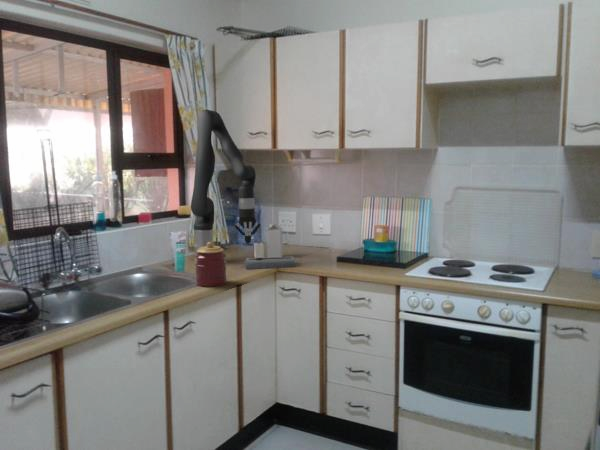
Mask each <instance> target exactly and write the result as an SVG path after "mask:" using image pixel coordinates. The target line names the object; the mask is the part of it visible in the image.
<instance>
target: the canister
mask: <svg viewBox="0 0 600 450" xmlns="http://www.w3.org/2000/svg"><path fill="white" fill-rule="evenodd" d="M224 251H225V249H224V248H222V247H221V246H219V245H214V242H213V243H212V242H208V243H207V246H203V247H200V248H199V249H198V250H197V252H198V253H197V255H195V254H194V259H195V258H196V263H195V262H194V266H195V269H194V270H195V271H194V272H195V278H194V279H195V280H194V281H195V284H196V285H197V286H200V287H208V288H209V287H219V286H224V285H225V284H226V283H227V279H228V278H227V262H226V257H227V255H226V253H224Z"/></svg>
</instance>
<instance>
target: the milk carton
mask: <svg viewBox="0 0 600 450" xmlns="http://www.w3.org/2000/svg"><path fill="white" fill-rule="evenodd" d="M268 227H269V228H268V229H267V235H266V236H267V237H266V239H267V241H266V242H267V243H266V244H267V247H266V248H267V257H284V255H283V252H284V251H283V250H284V249H283V247H284V246H283V243H284V242H283V240H284V239H283V228H282V227H281V226H280V225H279V224H278V223H277V220H275V221H274V222H273V223H270V224H269V225H268Z"/></svg>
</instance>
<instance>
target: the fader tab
mask: <svg viewBox="0 0 600 450" xmlns="http://www.w3.org/2000/svg"><path fill="white" fill-rule="evenodd" d="M253 245H254V246H253V247H254V248H253V250H254V251H253V253H254V254H253V255H254V258H256V260H262V258H265V253H264V252H265V249H264V246H265V245H264V243H263V242H256V243H255V242H254V244H253Z"/></svg>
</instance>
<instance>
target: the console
mask: <svg viewBox="0 0 600 450" xmlns="http://www.w3.org/2000/svg"><path fill="white" fill-rule="evenodd" d="M295 260H296V258H295V257H293V255H292V256H291V255H290V256H282V257H268V256H267V257H264V258H262V260H256V258H255V257H250V258H249V257H247V258H245V260H243V266H244V268H245V270H260V269H262V270H263V269H281V268H283V269H285V268H296V267H297V262H296V261H295Z"/></svg>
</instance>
